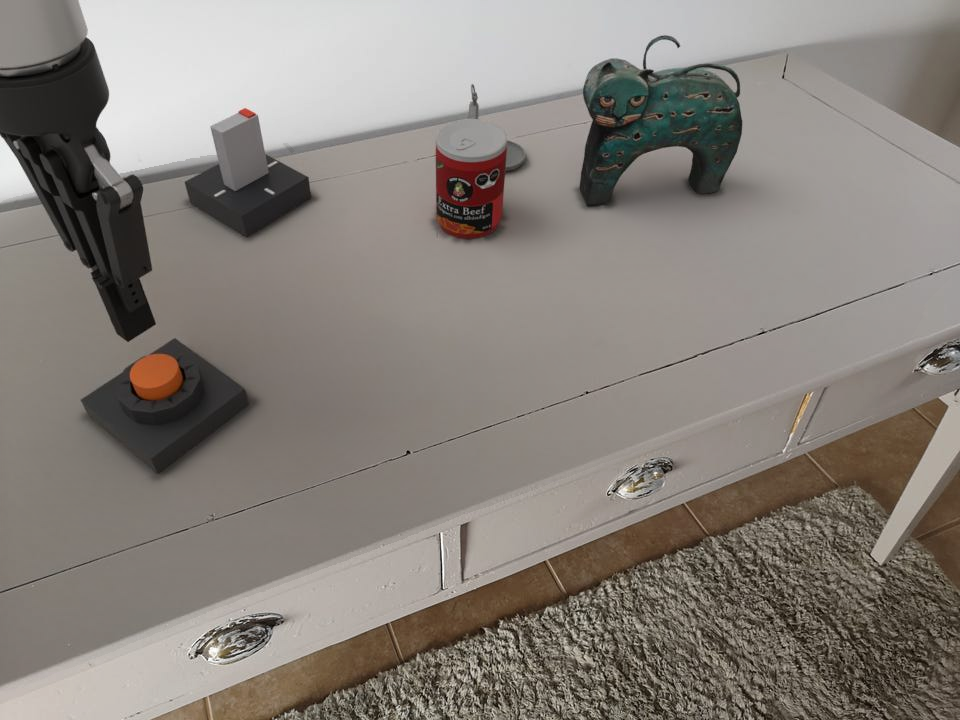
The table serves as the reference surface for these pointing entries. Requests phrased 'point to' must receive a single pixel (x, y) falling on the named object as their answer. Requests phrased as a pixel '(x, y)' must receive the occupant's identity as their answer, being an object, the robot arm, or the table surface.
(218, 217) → the dial panel
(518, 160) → the pocket watch
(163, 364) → the power button
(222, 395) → the dark square piece
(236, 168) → the dial
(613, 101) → the ceramic cat
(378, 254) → the table surface
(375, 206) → the table surface
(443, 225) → the canned food
